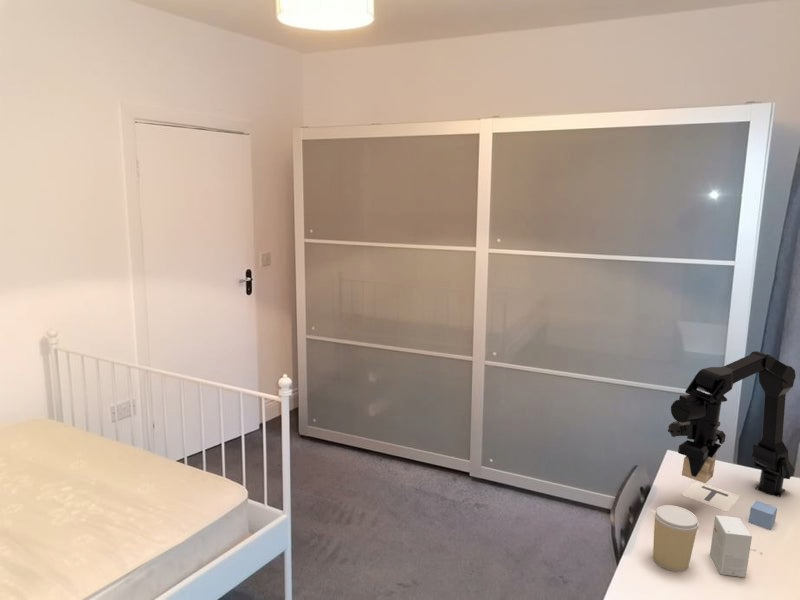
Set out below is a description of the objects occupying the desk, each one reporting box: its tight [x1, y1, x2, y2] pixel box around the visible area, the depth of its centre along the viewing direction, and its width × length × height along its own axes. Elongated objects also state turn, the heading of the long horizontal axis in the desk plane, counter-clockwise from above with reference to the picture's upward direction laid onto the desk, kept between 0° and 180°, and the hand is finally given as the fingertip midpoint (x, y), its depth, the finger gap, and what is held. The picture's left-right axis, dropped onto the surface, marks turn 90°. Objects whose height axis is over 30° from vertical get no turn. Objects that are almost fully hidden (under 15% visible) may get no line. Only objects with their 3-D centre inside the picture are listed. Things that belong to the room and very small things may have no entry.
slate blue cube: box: [748, 500, 778, 531], centre depth 159 cm, size 5×5×5 cm
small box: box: [709, 514, 753, 578], centre depth 141 cm, size 8×6×10 cm
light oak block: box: [681, 456, 716, 484], centre depth 162 cm, size 6×6×5 cm
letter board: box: [681, 480, 741, 513], centre depth 173 cm, size 12×12×1 cm
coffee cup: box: [652, 504, 699, 572], centre depth 142 cm, size 9×9×12 cm
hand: (697, 472), depth 163 cm, fingers closed on light oak block, 6 cm apart
